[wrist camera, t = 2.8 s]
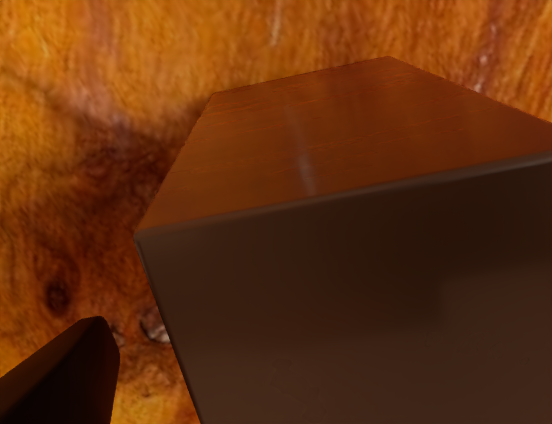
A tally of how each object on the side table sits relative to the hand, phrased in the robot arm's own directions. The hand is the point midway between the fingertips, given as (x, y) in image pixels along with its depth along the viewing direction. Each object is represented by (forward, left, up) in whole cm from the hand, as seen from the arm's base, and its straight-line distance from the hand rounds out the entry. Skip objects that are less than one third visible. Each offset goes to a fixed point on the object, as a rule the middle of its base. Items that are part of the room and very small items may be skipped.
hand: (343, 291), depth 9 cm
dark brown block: (0, 0, -3) cm, 3 cm away
